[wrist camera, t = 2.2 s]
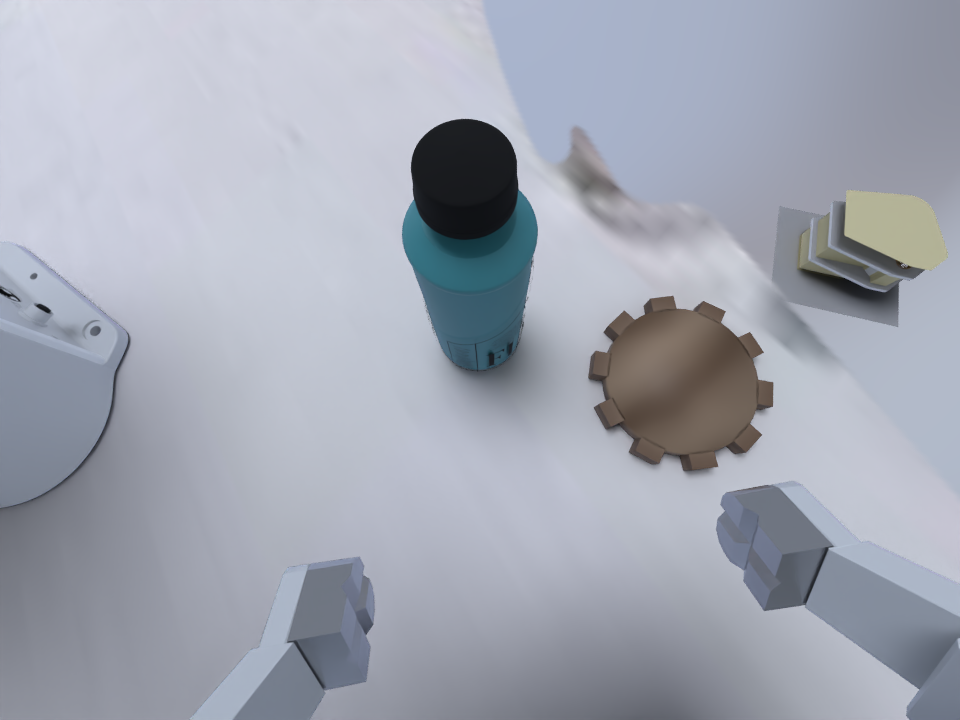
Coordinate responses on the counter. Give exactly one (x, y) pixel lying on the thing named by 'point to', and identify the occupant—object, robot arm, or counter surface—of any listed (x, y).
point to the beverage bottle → (470, 240)
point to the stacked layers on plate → (856, 253)
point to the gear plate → (680, 383)
